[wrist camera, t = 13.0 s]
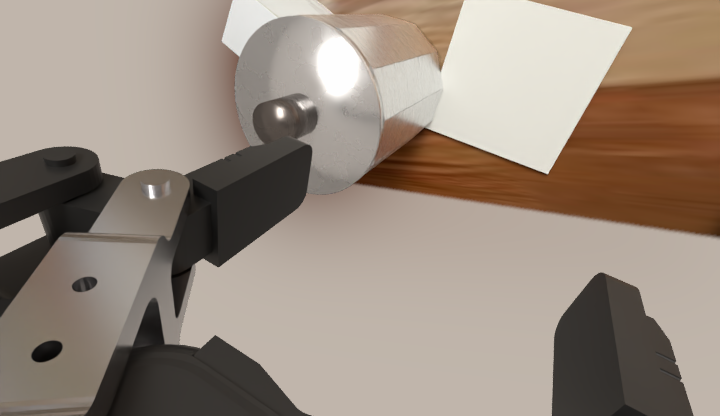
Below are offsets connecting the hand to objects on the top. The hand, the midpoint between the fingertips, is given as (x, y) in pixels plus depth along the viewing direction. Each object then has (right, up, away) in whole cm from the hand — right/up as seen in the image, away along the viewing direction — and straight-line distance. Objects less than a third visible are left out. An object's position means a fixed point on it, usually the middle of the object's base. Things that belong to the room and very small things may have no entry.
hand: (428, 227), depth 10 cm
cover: (+1, +18, +40) cm, 44 cm away
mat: (+16, +15, +33) cm, 40 cm away
